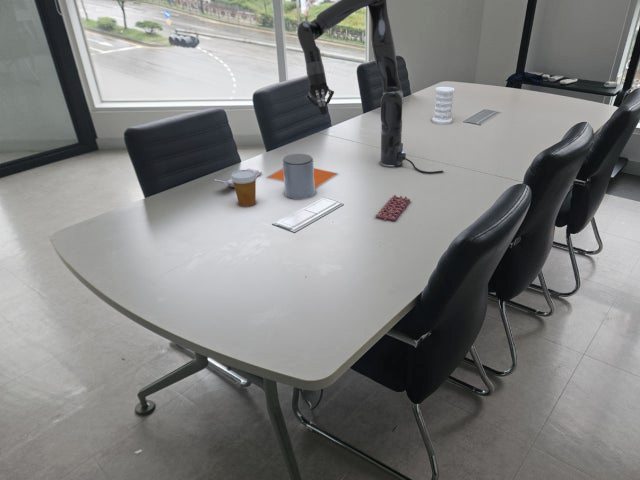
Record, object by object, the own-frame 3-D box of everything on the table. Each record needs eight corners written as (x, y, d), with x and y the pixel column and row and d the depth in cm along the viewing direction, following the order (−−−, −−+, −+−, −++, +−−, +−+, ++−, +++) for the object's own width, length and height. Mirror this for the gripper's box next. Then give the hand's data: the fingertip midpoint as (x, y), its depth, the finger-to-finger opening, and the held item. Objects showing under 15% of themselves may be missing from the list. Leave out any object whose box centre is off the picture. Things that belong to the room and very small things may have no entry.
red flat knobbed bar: (375, 218, 187) (375, 214, 186) (392, 199, 202) (392, 194, 201) (394, 222, 185) (394, 217, 184) (409, 202, 200) (410, 197, 199)
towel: (337, 174, 224) (337, 173, 224) (314, 188, 210) (314, 187, 210) (292, 164, 233) (292, 163, 233) (268, 177, 219) (268, 176, 219)
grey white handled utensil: (213, 179, 202) (250, 159, 221) (215, 193, 205) (251, 172, 224) (225, 182, 200) (262, 161, 219) (227, 196, 203) (263, 174, 222)
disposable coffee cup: (264, 200, 200) (260, 171, 193) (251, 210, 192) (247, 180, 186) (243, 196, 202) (239, 168, 196) (229, 206, 195) (225, 176, 188)
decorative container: (453, 124, 289) (456, 91, 279) (433, 123, 289) (435, 91, 279) (450, 118, 299) (454, 86, 289) (431, 118, 299) (433, 86, 289)
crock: (321, 191, 208) (319, 157, 200) (302, 201, 199) (300, 166, 191) (298, 185, 213) (295, 151, 205) (279, 194, 204) (275, 160, 196)
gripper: (301, 75, 213) (309, 118, 219) (332, 70, 214) (339, 112, 220) (300, 76, 220) (308, 117, 226) (330, 71, 221) (337, 112, 227)
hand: (323, 115), depth 223 cm, fingers closed
